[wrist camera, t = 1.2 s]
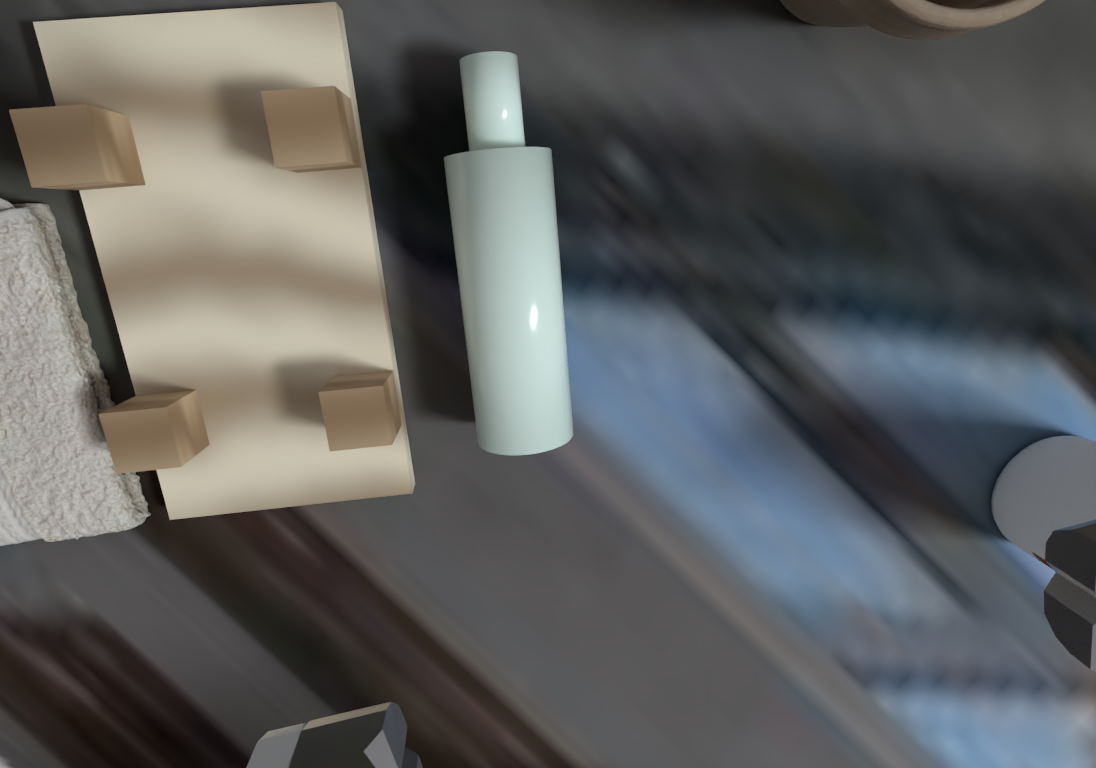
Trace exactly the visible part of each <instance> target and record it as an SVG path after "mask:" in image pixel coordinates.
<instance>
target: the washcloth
mask: <svg viewBox="0 0 1096 768" xmlns="http://www.w3.org/2000/svg"><path fill="white" fill-rule="evenodd" d="M66 262H67V261H66V259H65V253H64V251H63V249H62V246H61V238H60V236H59V234H58V231H57V228H56V221H55V217H54V215H53V214H52V212H51V210H50V206H49V205H48V204H44V203H27V204H11V203H10V202H8V201H6V200H4V199H2V198H0V546H3V545H8V544H17V543H22V542H24V541H32V540H37V539H39V538H40V539H44V540H45V541H47V542H54V541H61V540H65V539H72V538H75V539H78V538H80V537H83V536H87V537H90V536H96V535H101V534H104V533H111V532H119V531H122V530H128V529H132V528H134V527H136V526H138V525H140V524H142V523H143V522H144V521H145V519H146V517H148V516H150V515H151V513H149V512H148V509H147V505H148V503H147V502H146V501H145V497H144V496H143V494H142V489H141V484H140V483H139V478H140V477H139V476H137V475H136V472H130V473H120V474H116V471H115V468H114V464H113V461H112V458H111V454H110V451H109V447H108V444H107V441H106V437H105V434H104V430H103V427H102V424H101V420H100V417H99V414H100V413H102V412H104V411H106V410H108V409H110V408H112V407H114V406H115V403H114V402H113V401H112V400H111V397H110V386H109V385H108V384H107V382H108V381H107V380H106V379H105V378H104V373H103V370H102V369H101V368H100V367H99V360H98V358H97V356H96V352H95V351H94V350H93V349H92V347H91V338H90V336H89V332H88V326H87V323H86V322H85V321H84V320H83V318H82V314H81V310H80V308H79V306H78V303H77V292H76V291H75V289H74V287H73V285H72V276H71V274H70V270H69V268H68V266H67V263H66Z"/></svg>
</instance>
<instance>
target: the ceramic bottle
mask: <svg viewBox="0 0 1096 768" xmlns="http://www.w3.org/2000/svg"><path fill="white" fill-rule="evenodd" d="M459 64H460V73H461V82H462V91H463V100H464V109H465V118H466V127H467V136H468V145H469V152H462V153H457V154H452V155H448V156H446V157H444V165H445V173H446V182H447V190H448V198H449V206H450V215H451V223H452V231H453V239H454V248H455V256H456V264H457V272H458V281H459V289H460V297H461V305H462V314H463V322H464V330H465V338H466V347H467V355H468V363H469V371H470V380H471V388H472V396H473V404H474V413H475V421H476V429H477V437H478V444H479V446H480V447H481V448H482V449H483V450H485V451H488V452H491V453H495V454H501V455H528V454H535V453H541V452H545V451H549V450H552V449H555V448H558V447H560V446H562V445H564V444H565V443H567V442H568V441H569V440H570V439H571V438H572V436H573V426H572V413H571V400H570V386H569V373H568V360H567V347H566V334H565V321H564V308H563V295H562V282H561V269H560V256H559V243H558V230H557V216H556V203H555V190H554V177H553V164H552V151H551V149H550V148H546V147H525V139H524V128H523V116H522V105H521V93H520V82H519V70H518V59H517V55H515V54H513V53H509V52H500V51H492V52H480V53H475V54H470V55H467V56H464V57H462V58H461V59H460V60H459Z"/></svg>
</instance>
